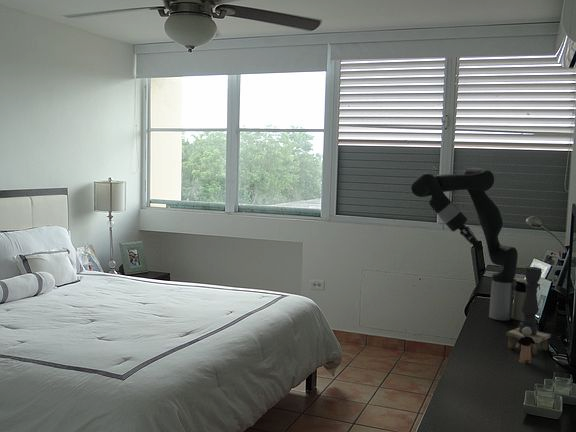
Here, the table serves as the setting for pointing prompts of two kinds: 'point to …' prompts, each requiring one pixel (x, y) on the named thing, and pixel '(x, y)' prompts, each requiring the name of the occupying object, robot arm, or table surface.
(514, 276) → the robot arm
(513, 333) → the beige toy table
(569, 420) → the table surface
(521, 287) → the travel mug
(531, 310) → the candle holder
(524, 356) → the grandmother figurine
